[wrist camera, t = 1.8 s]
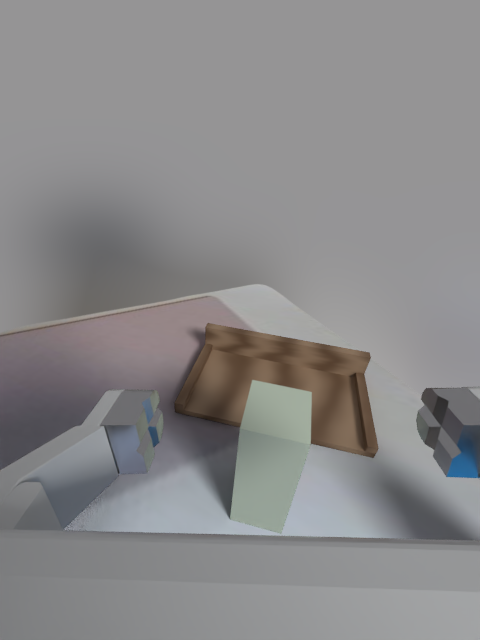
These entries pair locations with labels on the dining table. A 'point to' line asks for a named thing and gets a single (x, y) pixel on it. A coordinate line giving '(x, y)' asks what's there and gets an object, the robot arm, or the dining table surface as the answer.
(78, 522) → the dining table surface
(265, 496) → the sage block
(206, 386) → the tray
